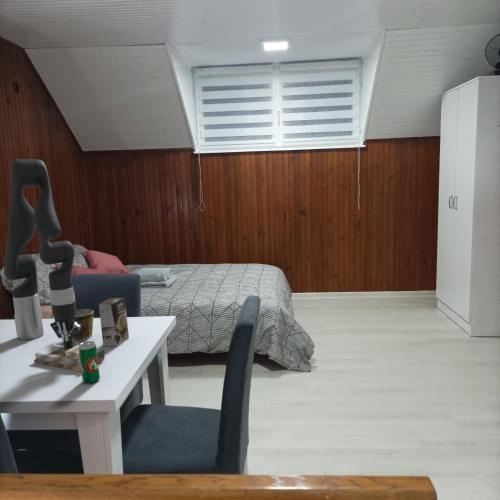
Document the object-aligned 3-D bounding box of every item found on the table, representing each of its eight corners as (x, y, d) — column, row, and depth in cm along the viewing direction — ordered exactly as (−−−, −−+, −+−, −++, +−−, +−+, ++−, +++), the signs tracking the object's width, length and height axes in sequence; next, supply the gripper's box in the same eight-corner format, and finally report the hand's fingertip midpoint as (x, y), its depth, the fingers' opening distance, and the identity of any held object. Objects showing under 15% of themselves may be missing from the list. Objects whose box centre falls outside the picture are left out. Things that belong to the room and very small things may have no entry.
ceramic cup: (100, 332, 181) (97, 308, 179) (89, 341, 171) (86, 316, 170) (69, 333, 182) (66, 309, 181) (57, 342, 173) (53, 317, 171)
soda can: (85, 377, 140) (80, 341, 138) (101, 376, 140) (97, 339, 138) (80, 385, 135) (76, 347, 133) (97, 383, 135) (93, 345, 133)
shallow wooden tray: (34, 362, 154) (32, 351, 153) (57, 351, 163) (56, 341, 162) (84, 372, 144) (82, 360, 143) (106, 360, 153) (105, 348, 152)
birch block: (66, 362, 150) (65, 351, 149) (80, 355, 155) (78, 344, 154) (79, 364, 147) (78, 353, 147) (93, 357, 152) (92, 346, 152)
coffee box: (118, 346, 165) (113, 304, 162) (102, 346, 166) (97, 303, 164) (129, 337, 174) (125, 297, 171) (114, 337, 175) (110, 297, 172)
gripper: (39, 302, 149) (46, 352, 152) (68, 305, 143) (74, 357, 146) (58, 296, 156) (63, 344, 159) (86, 299, 150) (91, 348, 153)
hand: (69, 350), depth 152 cm, fingers closed
